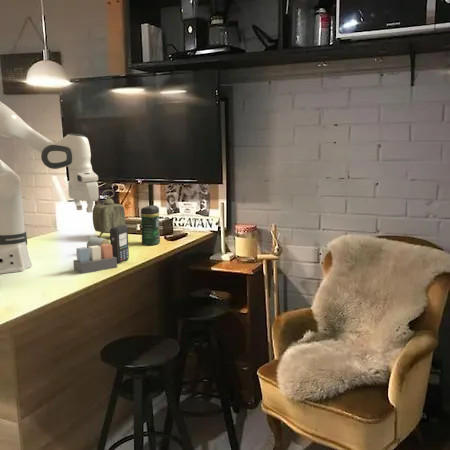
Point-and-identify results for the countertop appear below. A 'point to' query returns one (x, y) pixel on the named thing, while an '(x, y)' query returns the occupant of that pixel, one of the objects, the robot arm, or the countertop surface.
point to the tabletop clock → (108, 215)
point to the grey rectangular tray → (95, 265)
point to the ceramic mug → (96, 241)
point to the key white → (94, 253)
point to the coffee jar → (150, 225)
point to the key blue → (82, 254)
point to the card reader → (119, 243)
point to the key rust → (106, 251)
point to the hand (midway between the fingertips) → (84, 211)
